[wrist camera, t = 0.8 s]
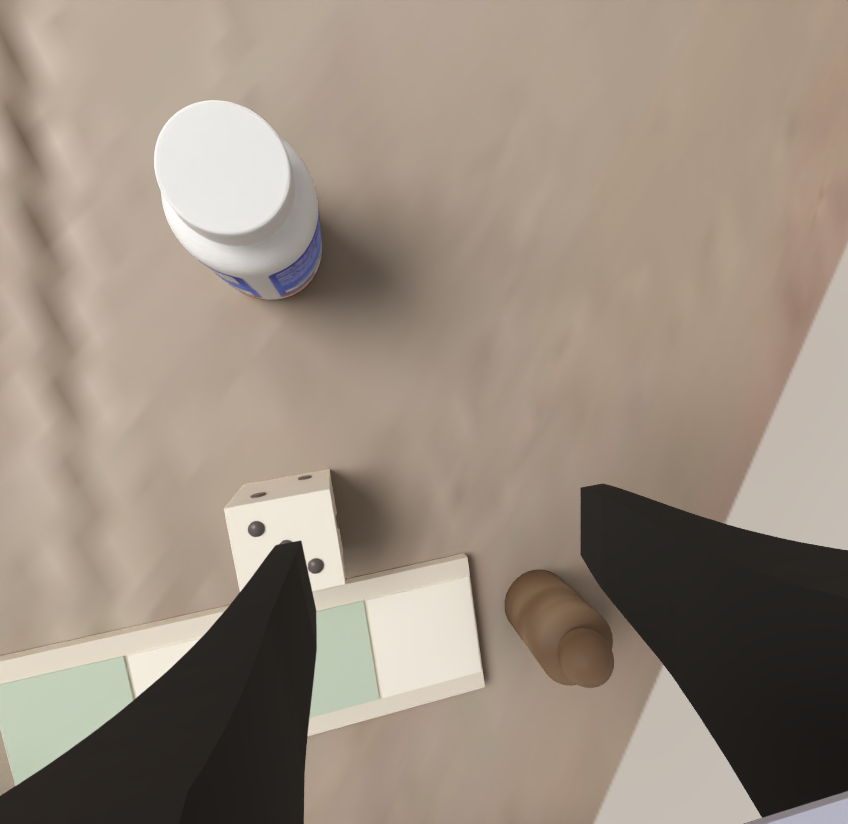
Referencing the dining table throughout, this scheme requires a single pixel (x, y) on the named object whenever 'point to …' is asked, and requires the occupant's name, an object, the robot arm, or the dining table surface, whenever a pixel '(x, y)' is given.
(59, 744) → the board
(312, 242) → the pill bottle
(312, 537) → the die
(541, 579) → the pawn
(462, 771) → the dining table surface
